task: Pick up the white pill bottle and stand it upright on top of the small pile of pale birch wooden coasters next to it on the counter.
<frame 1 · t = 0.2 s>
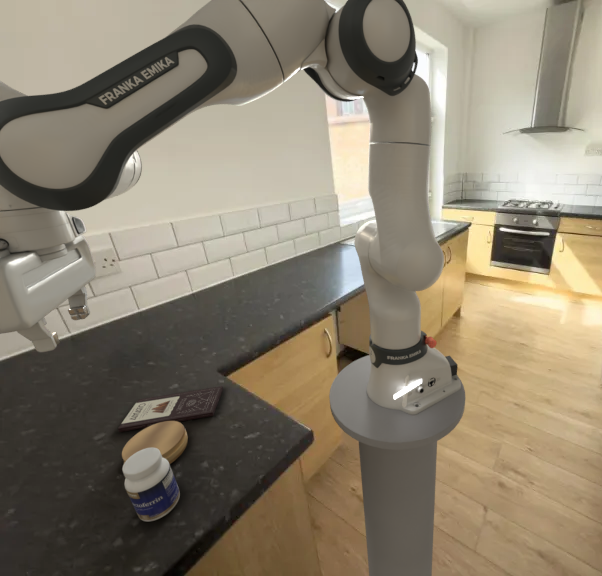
hand: (67, 331, 44), 30 cm above the countertop, tool pointing down, fingers open, 8 cm apart
pill bottle: (160, 505, 51), on the countertop
coaster pile: (158, 452, 61), on the countertop
chocolate bar: (175, 409, 71), on the countertop
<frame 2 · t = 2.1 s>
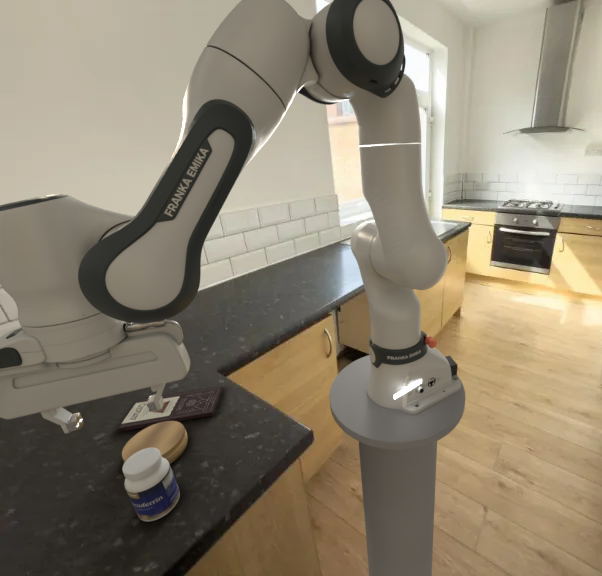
hand: (117, 418, 45), 18 cm above the countertop, tool pointing down, fingers open, 8 cm apart
nothing on the countertop moved.
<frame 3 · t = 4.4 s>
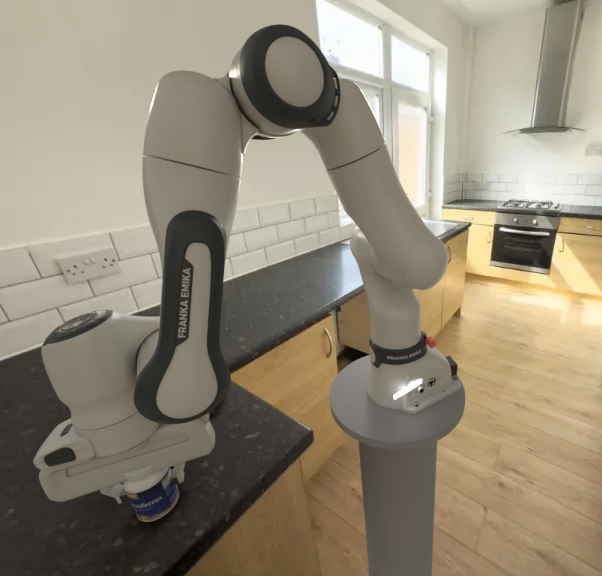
hand: (153, 489, 50), 4 cm above the countertop, tool pointing down, fingers closed on pill bottle, 5 cm apart
pill bottle: (159, 505, 51), on the countertop, touching gripper
everything else where it was.
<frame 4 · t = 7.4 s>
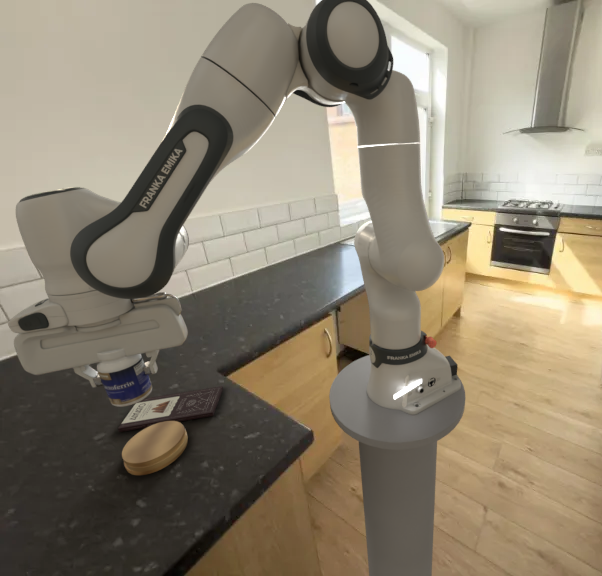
hand: (126, 378, 52), 18 cm above the countertop, tool pointing down, fingers closed on pill bottle, 6 cm apart
pill bottle: (133, 397, 54), point 15 cm above the countertop, touching gripper
everything else where it was.
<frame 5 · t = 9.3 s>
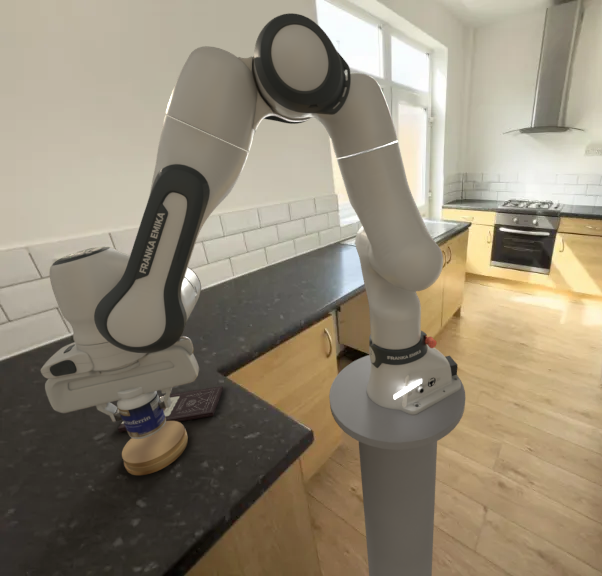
hand: (143, 412, 57), 10 cm above the countertop, tool pointing down, fingers closed on pill bottle, 6 cm apart
pill bottle: (149, 428, 58), point 6 cm above the countertop, touching gripper
everything else where it was.
when the fingers open (6 cm above the countertop, at t = 10.7 s): pill bottle stays where it is, resting on coaster pile.
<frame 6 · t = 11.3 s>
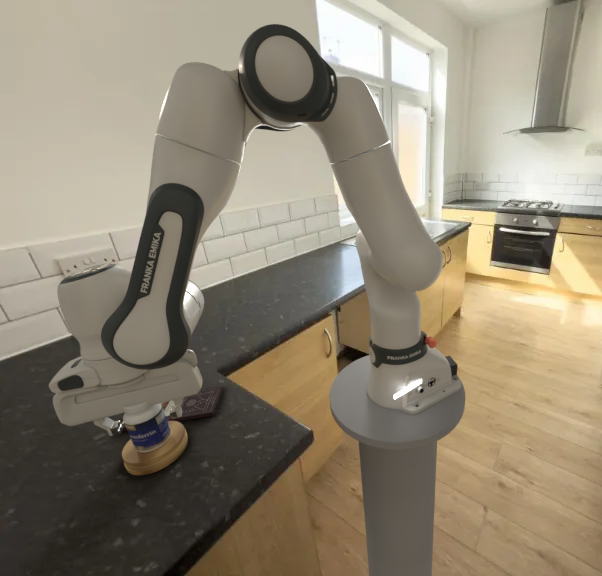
hand: (148, 423, 58), 7 cm above the countertop, tool pointing down, fingers open, 8 cm apart
pill bottle: (154, 441, 60), point 3 cm above the countertop, touching coaster pile
everything else where it was.
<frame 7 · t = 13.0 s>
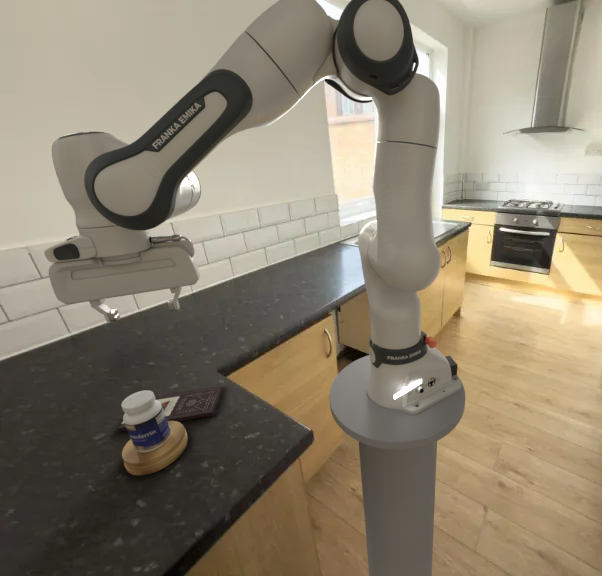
hand: (145, 314, 58), 26 cm above the countertop, tool pointing down, fingers open, 8 cm apart
nothing on the countertop moved.
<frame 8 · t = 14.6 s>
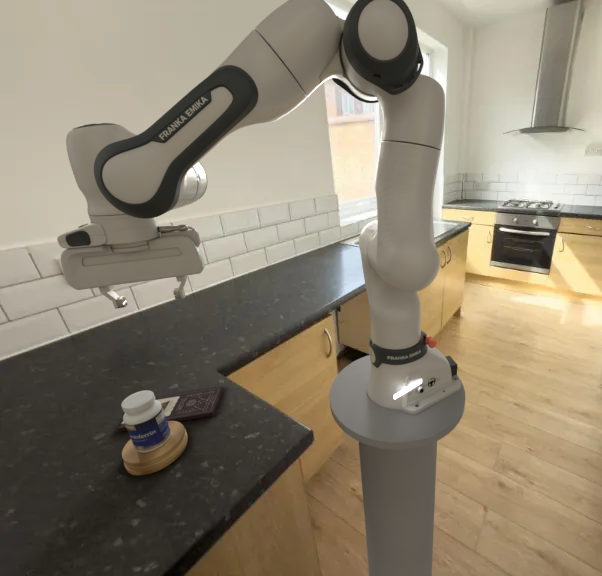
hand: (152, 302, 60), 27 cm above the countertop, tool pointing down, fingers open, 8 cm apart
nothing on the countertop moved.
at the end: pill bottle 0.2 cm off-centre on the coaster pile, point 2.8 cm above the coaster pile's base; pill bottle tilted 0°; the gripper is holding nothing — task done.
